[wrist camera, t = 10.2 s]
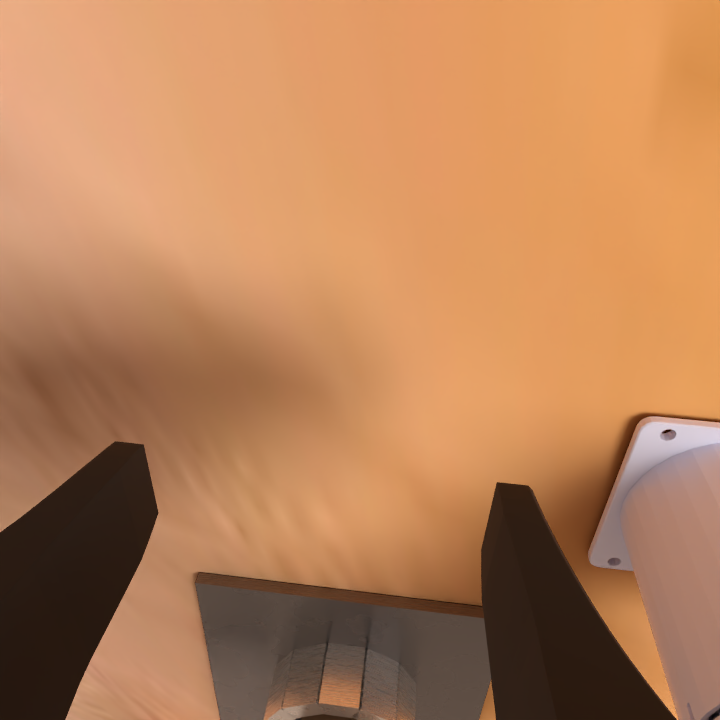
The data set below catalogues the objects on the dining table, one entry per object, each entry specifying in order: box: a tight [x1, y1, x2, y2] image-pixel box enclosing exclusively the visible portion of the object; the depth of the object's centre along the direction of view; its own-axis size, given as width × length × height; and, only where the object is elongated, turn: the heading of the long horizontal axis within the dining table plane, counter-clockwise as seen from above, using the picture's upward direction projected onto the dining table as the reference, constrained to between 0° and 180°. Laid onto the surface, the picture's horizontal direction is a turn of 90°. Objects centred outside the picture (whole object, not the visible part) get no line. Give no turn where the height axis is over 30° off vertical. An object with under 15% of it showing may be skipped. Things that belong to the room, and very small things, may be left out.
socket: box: [195, 573, 491, 720], centre depth 32 cm, size 15×15×4 cm
